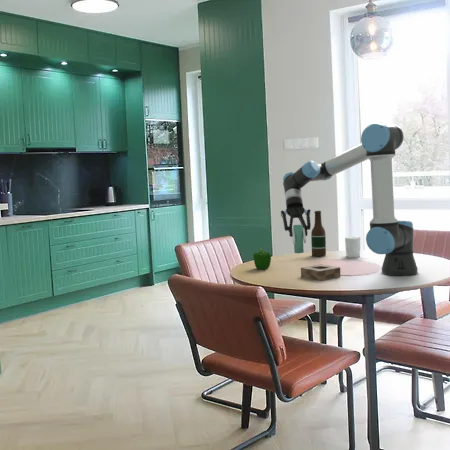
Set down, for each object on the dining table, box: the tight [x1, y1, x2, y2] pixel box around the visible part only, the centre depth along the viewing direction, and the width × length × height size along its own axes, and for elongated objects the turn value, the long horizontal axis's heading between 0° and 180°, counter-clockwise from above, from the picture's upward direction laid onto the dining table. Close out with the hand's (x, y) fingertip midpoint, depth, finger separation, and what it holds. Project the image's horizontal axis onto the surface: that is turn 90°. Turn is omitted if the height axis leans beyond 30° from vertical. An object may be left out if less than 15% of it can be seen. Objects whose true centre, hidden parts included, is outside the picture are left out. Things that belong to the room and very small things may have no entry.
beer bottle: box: [310, 210, 327, 258], centre depth 310 cm, size 8×8×24 cm
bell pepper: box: [253, 248, 272, 270], centre depth 280 cm, size 8×8×10 cm
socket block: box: [300, 263, 341, 282], centre depth 256 cm, size 12×12×4 cm
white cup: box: [344, 236, 362, 258], centre depth 304 cm, size 8×8×10 cm
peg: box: [292, 224, 304, 254], centre depth 256 cm, size 4×4×12 cm
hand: (299, 241), depth 253 cm, fingers closed on peg, 4 cm apart
